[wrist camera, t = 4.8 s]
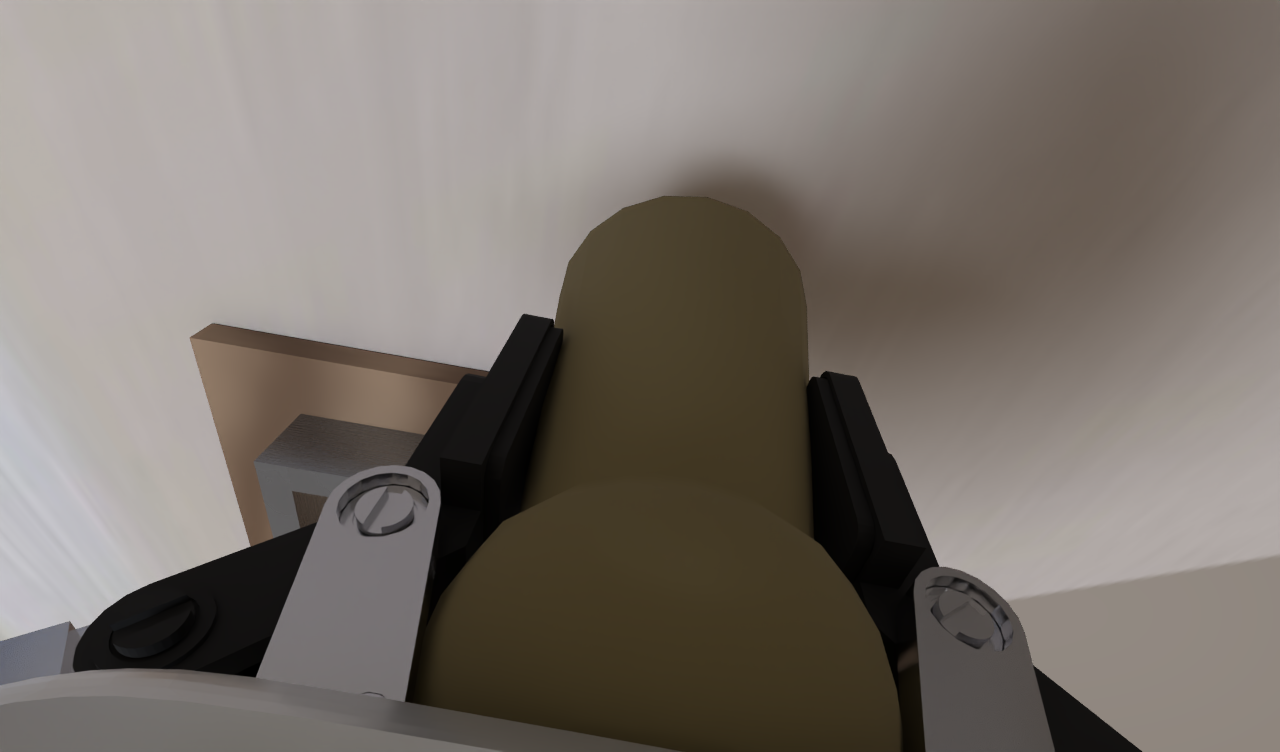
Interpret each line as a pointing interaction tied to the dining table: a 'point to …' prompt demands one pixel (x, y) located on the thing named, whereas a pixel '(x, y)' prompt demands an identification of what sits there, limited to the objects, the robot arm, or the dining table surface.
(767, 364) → the cork
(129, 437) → the dining table surface
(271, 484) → the collar
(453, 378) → the collar board
